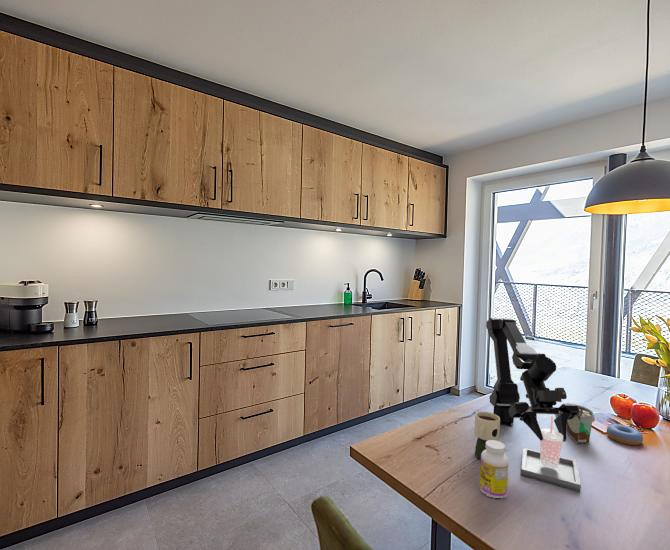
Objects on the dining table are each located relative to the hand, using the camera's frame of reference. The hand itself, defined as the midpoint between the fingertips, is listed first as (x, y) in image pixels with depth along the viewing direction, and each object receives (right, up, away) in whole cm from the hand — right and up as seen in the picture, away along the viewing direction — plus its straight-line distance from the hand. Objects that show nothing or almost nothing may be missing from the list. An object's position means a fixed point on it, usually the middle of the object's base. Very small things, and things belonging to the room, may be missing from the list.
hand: (553, 440), depth 106 cm
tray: (0, -10, +2) cm, 10 cm away
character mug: (-16, -9, +8) cm, 20 cm away
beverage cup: (0, -8, +2) cm, 8 cm away
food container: (+23, -9, +22) cm, 33 cm away
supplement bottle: (-21, -10, -9) cm, 25 cm away
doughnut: (+37, -10, +22) cm, 45 cm away
